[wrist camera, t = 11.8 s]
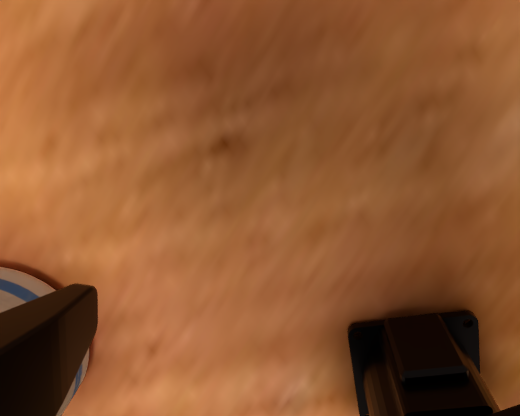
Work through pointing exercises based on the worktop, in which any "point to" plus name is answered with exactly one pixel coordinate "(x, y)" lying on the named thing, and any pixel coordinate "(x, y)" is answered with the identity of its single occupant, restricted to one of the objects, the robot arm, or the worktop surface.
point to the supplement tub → (24, 290)
